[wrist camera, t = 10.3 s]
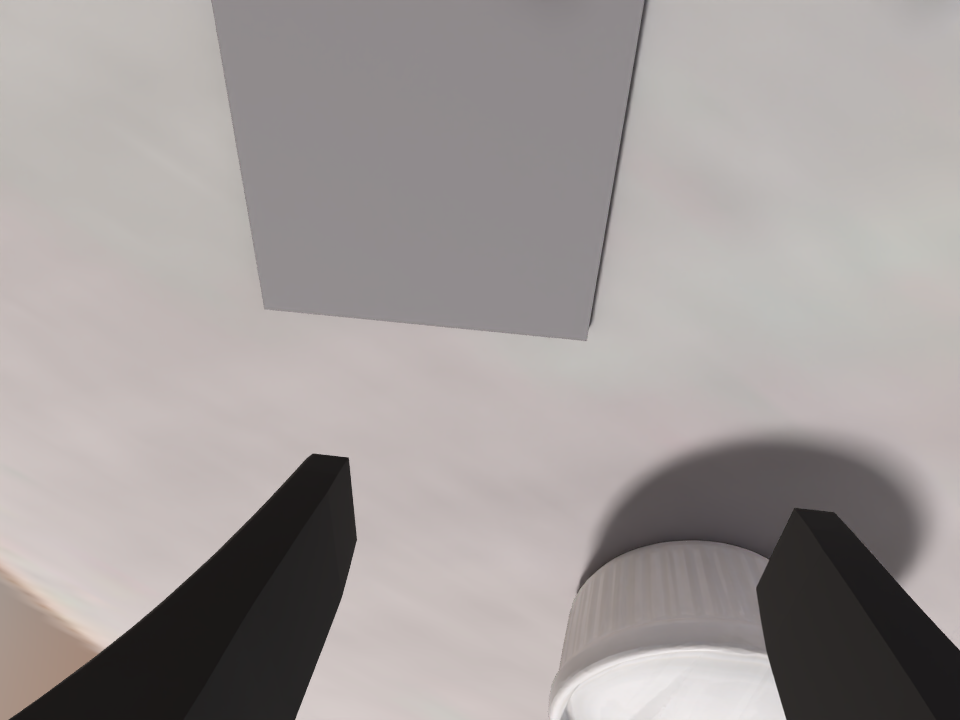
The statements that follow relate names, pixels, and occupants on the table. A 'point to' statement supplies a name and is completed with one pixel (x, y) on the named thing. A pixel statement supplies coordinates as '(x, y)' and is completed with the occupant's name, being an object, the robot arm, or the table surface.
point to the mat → (430, 154)
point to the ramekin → (668, 639)
